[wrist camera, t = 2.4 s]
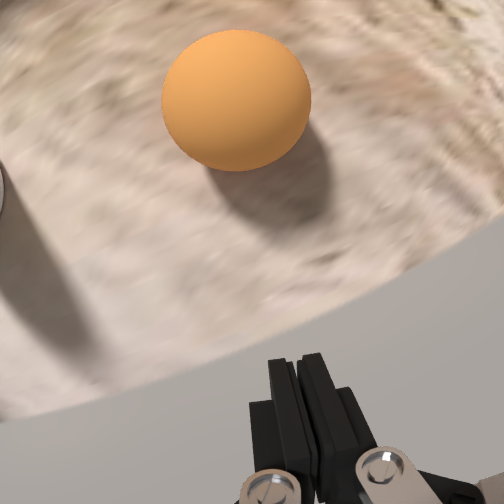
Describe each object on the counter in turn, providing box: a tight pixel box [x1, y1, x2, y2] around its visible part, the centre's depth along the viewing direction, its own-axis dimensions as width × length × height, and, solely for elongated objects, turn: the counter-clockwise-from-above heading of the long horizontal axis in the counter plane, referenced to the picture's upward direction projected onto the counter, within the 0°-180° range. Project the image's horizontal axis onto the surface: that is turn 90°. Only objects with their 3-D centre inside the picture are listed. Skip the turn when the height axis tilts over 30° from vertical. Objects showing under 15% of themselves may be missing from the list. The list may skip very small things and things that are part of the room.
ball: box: [162, 30, 311, 171], centre depth 12 cm, size 6×6×6 cm
